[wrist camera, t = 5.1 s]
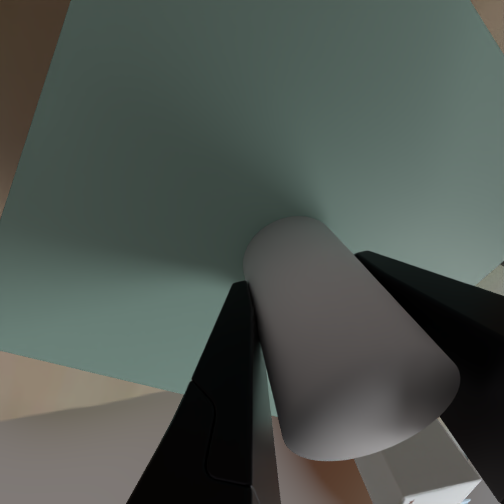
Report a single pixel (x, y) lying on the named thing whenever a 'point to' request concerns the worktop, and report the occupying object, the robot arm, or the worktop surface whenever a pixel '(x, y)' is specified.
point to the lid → (259, 199)
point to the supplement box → (419, 470)
